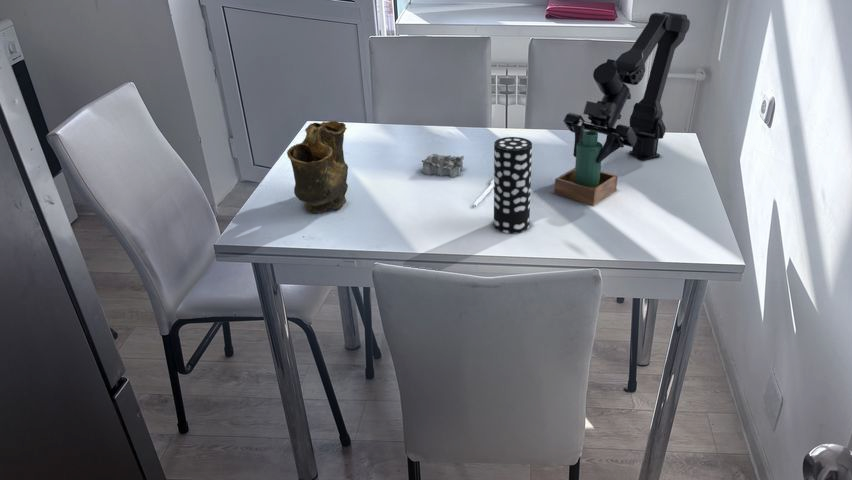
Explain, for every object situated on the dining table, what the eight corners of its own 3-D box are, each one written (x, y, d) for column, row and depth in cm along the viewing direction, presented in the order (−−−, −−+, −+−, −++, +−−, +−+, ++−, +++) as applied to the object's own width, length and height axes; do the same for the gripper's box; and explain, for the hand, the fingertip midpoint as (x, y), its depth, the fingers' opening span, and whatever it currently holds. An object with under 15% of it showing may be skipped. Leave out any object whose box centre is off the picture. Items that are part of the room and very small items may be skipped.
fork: (468, 206, 172) (468, 199, 171) (496, 176, 188) (496, 170, 187) (480, 208, 171) (480, 201, 170) (508, 178, 187) (508, 171, 186)
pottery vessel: (317, 182, 183) (307, 108, 173) (358, 183, 183) (351, 109, 173) (288, 225, 162) (275, 143, 152) (335, 227, 162) (325, 145, 151)
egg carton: (420, 174, 189) (419, 160, 187) (429, 164, 195) (428, 150, 193) (458, 178, 187) (457, 163, 184) (465, 167, 193) (465, 153, 191)
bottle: (596, 176, 182) (600, 128, 175) (601, 186, 176) (606, 137, 169) (572, 177, 181) (575, 129, 174) (577, 187, 176) (580, 138, 169)
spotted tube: (533, 220, 166) (536, 139, 155) (523, 235, 159) (525, 152, 149) (500, 215, 168) (501, 135, 158) (488, 230, 161) (488, 147, 151)
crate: (578, 179, 187) (579, 165, 185) (616, 190, 181) (617, 175, 179) (554, 193, 179) (555, 178, 177) (593, 205, 173) (594, 190, 171)
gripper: (569, 80, 174) (542, 135, 172) (636, 94, 164) (609, 153, 163) (583, 104, 183) (558, 156, 182) (648, 118, 174) (622, 173, 172)
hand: (585, 159), depth 174 cm, fingers closed on bottle, 6 cm apart
